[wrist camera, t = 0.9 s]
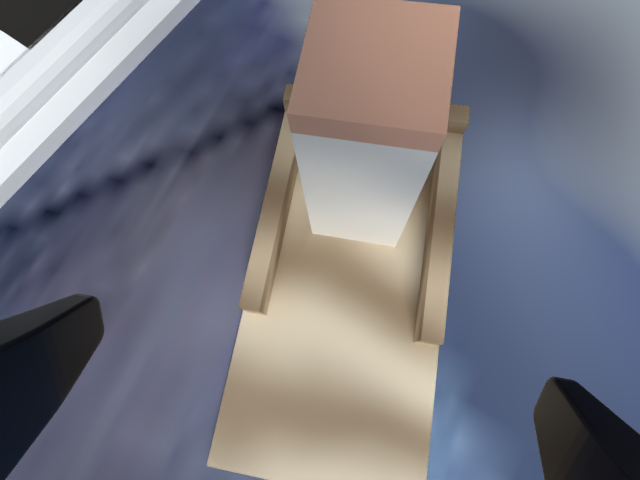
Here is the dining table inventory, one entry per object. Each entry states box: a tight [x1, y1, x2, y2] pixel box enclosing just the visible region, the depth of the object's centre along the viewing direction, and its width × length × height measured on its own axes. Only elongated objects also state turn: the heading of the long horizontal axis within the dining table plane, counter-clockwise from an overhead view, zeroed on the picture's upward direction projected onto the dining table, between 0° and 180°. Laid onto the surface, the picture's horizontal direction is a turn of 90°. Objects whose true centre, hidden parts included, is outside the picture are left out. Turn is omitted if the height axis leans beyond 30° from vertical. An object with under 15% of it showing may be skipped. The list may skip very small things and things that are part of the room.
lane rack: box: [207, 84, 470, 480], centre depth 20 cm, size 19×10×4 cm, turn 170°
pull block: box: [287, 0, 460, 247], centre depth 17 cm, size 4×4×11 cm
